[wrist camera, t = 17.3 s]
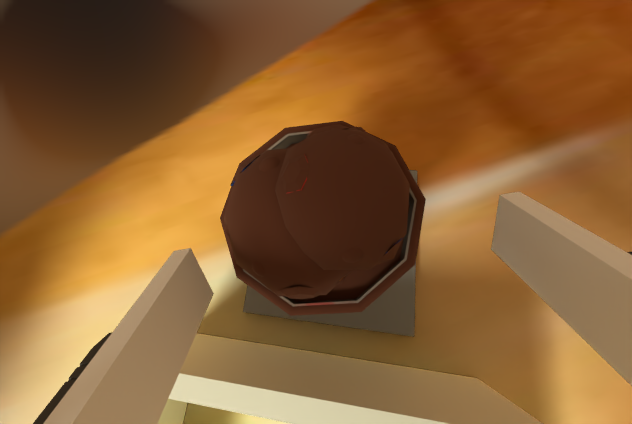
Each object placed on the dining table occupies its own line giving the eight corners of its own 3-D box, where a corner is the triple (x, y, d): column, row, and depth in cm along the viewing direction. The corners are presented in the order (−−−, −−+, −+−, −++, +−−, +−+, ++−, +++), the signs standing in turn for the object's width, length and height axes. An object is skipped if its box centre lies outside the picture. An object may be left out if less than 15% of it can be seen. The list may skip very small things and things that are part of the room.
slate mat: (245, 311, 23) (242, 311, 22) (271, 165, 27) (269, 162, 26) (412, 335, 21) (414, 336, 20) (415, 173, 25) (417, 170, 24)
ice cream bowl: (360, 164, 25) (375, -4, 11) (416, 277, 22) (550, 255, 7) (256, 207, 25) (132, 97, 11) (296, 327, 22) (192, 401, 7)
